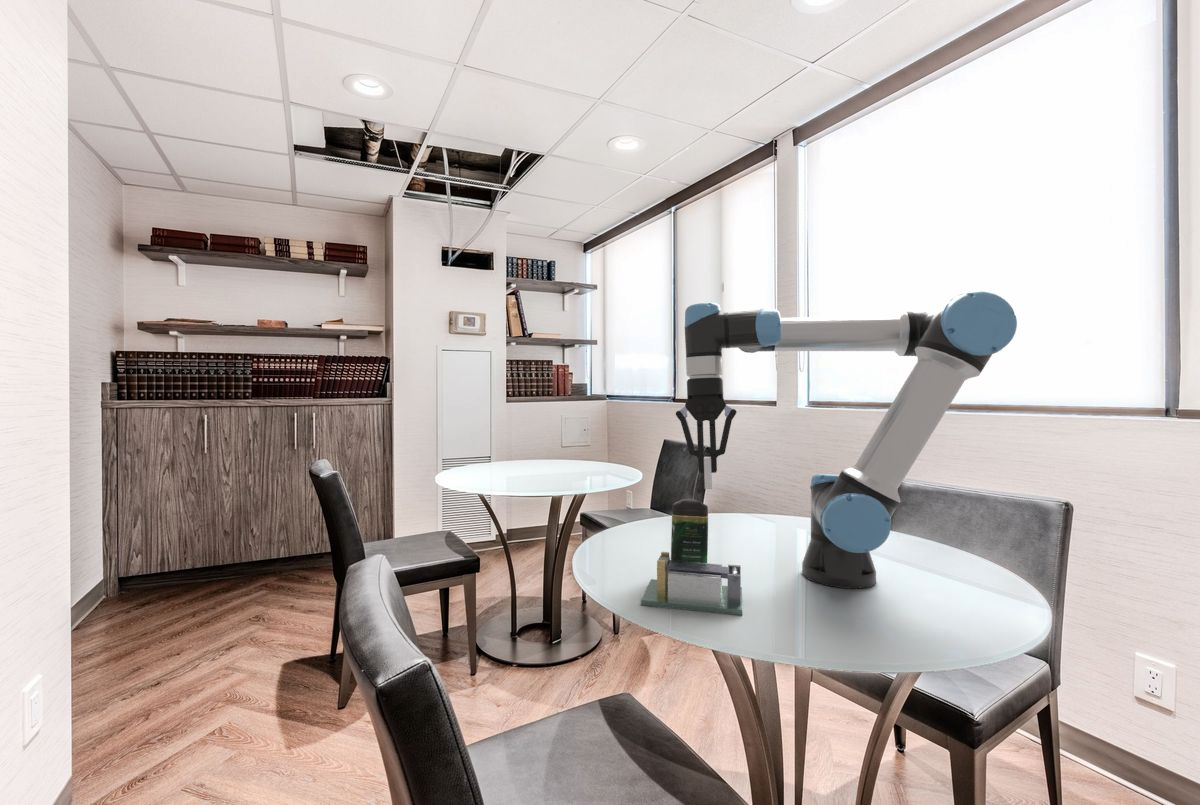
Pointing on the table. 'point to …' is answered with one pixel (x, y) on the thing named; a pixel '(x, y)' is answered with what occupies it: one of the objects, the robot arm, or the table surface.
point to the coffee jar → (689, 531)
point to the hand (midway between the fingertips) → (708, 487)
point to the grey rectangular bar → (695, 567)
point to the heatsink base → (695, 590)
